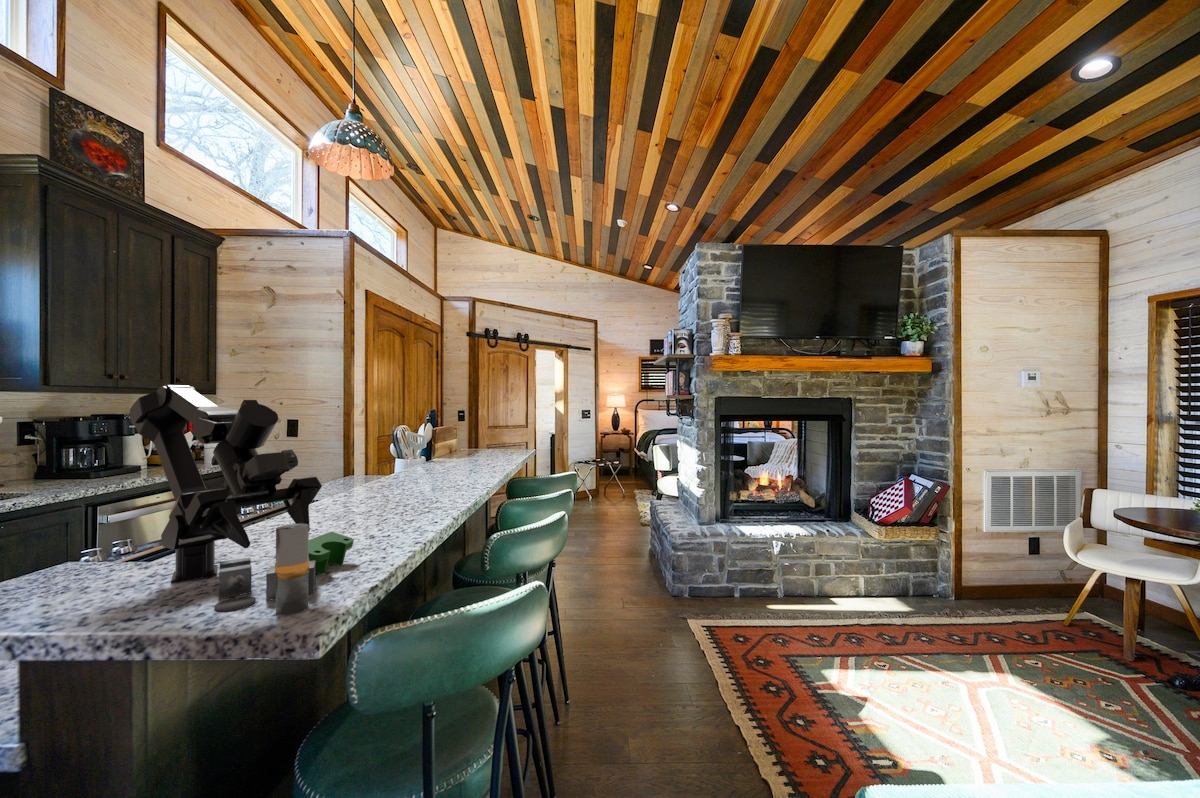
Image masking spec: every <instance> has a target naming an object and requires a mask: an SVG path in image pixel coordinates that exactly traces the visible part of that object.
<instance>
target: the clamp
mask: <svg viewBox="0 0 1200 798" xmlns="http://www.w3.org/2000/svg"><path fill="white" fill-rule="evenodd" d="M354 541H355V540H354V538H352V537H349V536H348V535H343V534H341V533H338V532H334V531H329V532H326V533H324V534H321V535H317V536H316V537H313V538H309V561H314V560H316V573H317V574H320V575H325V574H326V572H327V569H328V564H329V565H330V564H333V565H337V564H339V565H338V566H340V565H341V566H343V565H344V561H345V557H346V553H347V550H350V549H352V548H353V546H354ZM342 564H343V565H342ZM324 573H325V574H324Z"/></svg>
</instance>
